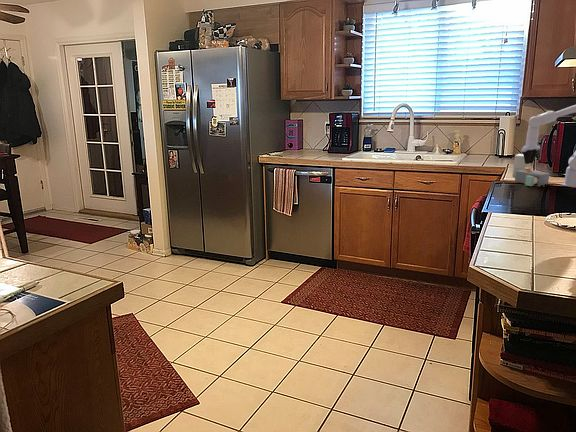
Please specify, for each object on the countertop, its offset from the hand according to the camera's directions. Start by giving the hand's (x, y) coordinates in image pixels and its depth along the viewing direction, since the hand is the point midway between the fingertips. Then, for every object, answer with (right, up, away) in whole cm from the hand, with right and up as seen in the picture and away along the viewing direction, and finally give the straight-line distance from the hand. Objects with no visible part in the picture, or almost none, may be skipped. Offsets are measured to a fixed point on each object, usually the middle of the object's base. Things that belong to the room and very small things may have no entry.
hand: (528, 163), depth 264 cm
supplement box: (+4, -6, +17) cm, 18 cm away
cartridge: (+1, -12, -5) cm, 13 cm away
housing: (+2, -11, +1) cm, 11 cm away
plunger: (0, -6, +2) cm, 7 cm away
